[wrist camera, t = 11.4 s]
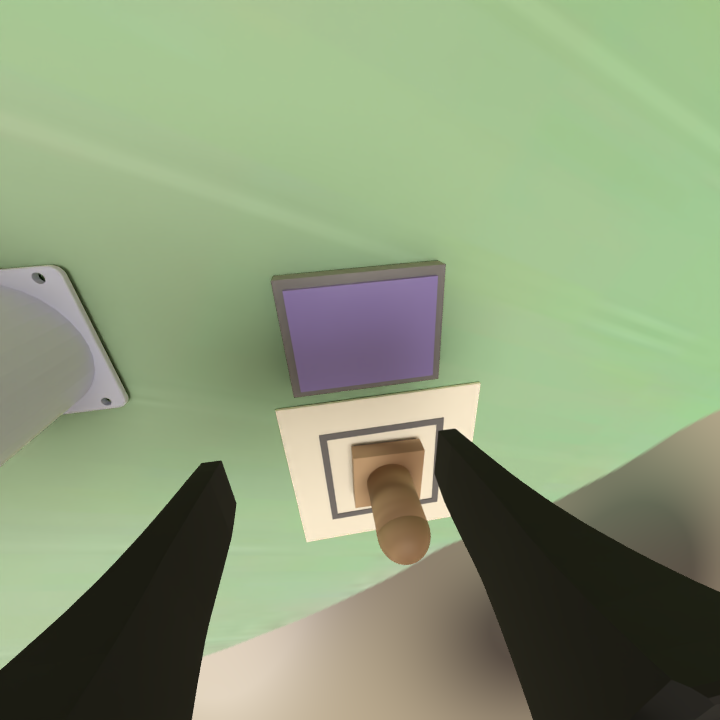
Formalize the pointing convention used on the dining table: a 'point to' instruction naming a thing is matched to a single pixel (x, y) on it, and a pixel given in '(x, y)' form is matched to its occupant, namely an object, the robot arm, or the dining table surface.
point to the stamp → (393, 495)
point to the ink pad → (361, 326)
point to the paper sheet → (364, 426)
